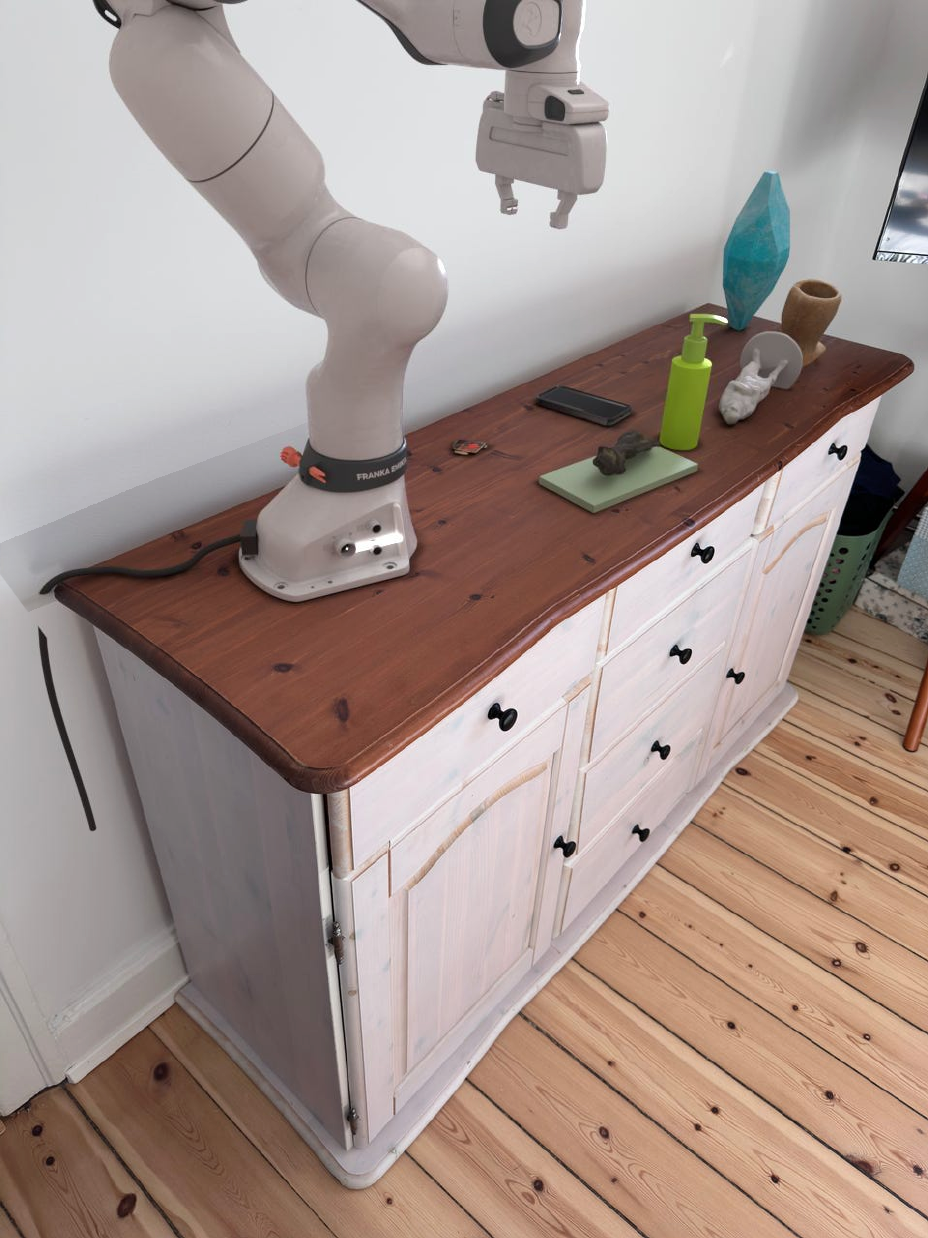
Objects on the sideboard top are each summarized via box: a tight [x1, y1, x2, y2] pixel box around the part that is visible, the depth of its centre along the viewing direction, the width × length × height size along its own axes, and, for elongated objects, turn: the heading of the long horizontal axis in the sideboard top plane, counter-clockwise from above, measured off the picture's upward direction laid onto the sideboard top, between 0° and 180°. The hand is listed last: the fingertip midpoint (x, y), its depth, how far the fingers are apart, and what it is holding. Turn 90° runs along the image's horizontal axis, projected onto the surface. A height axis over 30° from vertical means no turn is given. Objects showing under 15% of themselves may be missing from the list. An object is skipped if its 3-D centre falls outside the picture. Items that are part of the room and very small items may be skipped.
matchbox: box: [452, 439, 488, 455], centre depth 142 cm, size 5×5×1 cm
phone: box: [535, 385, 633, 427], centre depth 156 cm, size 8×1×15 cm
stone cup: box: [780, 278, 843, 368], centre depth 174 cm, size 15×12×15 cm
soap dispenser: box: [659, 313, 728, 451], centre depth 140 cm, size 6×7×20 cm
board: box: [538, 446, 699, 514], centre depth 135 cm, size 22×11×1 cm, turn 129°
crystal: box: [722, 170, 791, 331], centre depth 186 cm, size 12×14×30 cm
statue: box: [593, 429, 661, 476], centre depth 133 cm, size 6×6×20 cm
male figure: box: [718, 330, 803, 425], centre depth 158 cm, size 11×10×25 cm
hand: (532, 220), depth 119 cm, fingers open, 8 cm apart
